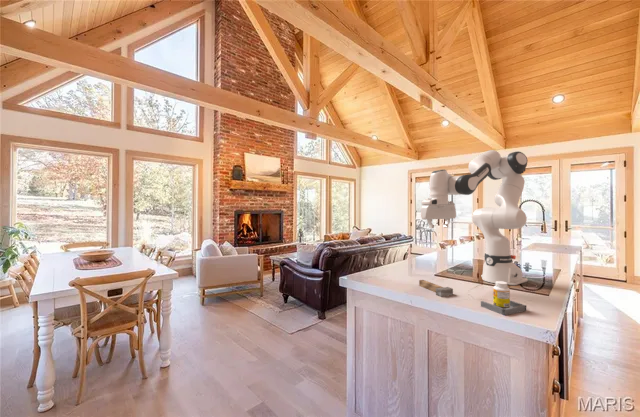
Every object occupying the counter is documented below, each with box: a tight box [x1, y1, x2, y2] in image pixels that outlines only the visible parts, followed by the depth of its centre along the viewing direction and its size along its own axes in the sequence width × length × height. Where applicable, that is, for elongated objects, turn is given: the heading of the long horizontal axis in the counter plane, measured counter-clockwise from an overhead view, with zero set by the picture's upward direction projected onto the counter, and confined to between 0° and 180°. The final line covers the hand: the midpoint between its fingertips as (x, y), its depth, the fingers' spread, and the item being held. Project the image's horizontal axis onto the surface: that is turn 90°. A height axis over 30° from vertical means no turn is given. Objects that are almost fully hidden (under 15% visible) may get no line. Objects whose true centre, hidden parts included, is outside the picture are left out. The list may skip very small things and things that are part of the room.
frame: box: [480, 299, 527, 316], centre depth 111 cm, size 12×10×2 cm
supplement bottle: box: [492, 281, 511, 309], centre depth 112 cm, size 6×6×10 cm
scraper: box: [418, 279, 454, 298], centre depth 134 cm, size 17×7×3 cm, turn 20°
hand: (438, 227), depth 145 cm, fingers open, 8 cm apart
